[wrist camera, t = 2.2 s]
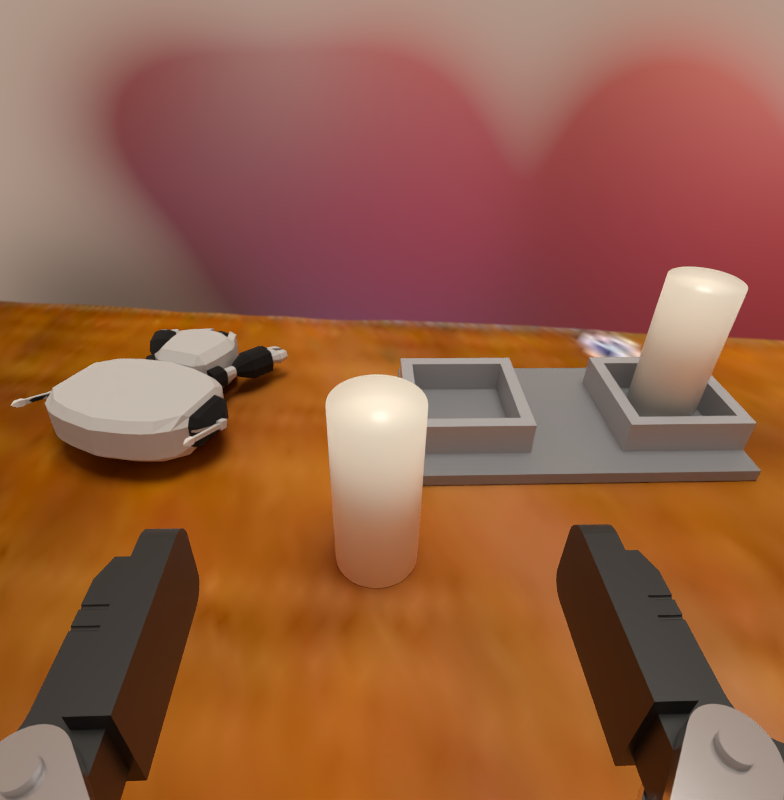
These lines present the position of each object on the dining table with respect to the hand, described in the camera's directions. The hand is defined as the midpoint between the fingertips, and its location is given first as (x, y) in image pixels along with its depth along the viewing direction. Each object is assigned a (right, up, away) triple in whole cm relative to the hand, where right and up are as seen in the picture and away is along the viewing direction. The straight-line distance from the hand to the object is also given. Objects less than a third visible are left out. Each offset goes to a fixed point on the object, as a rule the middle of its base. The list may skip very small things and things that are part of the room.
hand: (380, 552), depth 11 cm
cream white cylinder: (-1, -5, +18) cm, 18 cm away
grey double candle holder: (+12, +2, +27) cm, 30 cm away
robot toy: (-15, +2, +28) cm, 32 cm away
